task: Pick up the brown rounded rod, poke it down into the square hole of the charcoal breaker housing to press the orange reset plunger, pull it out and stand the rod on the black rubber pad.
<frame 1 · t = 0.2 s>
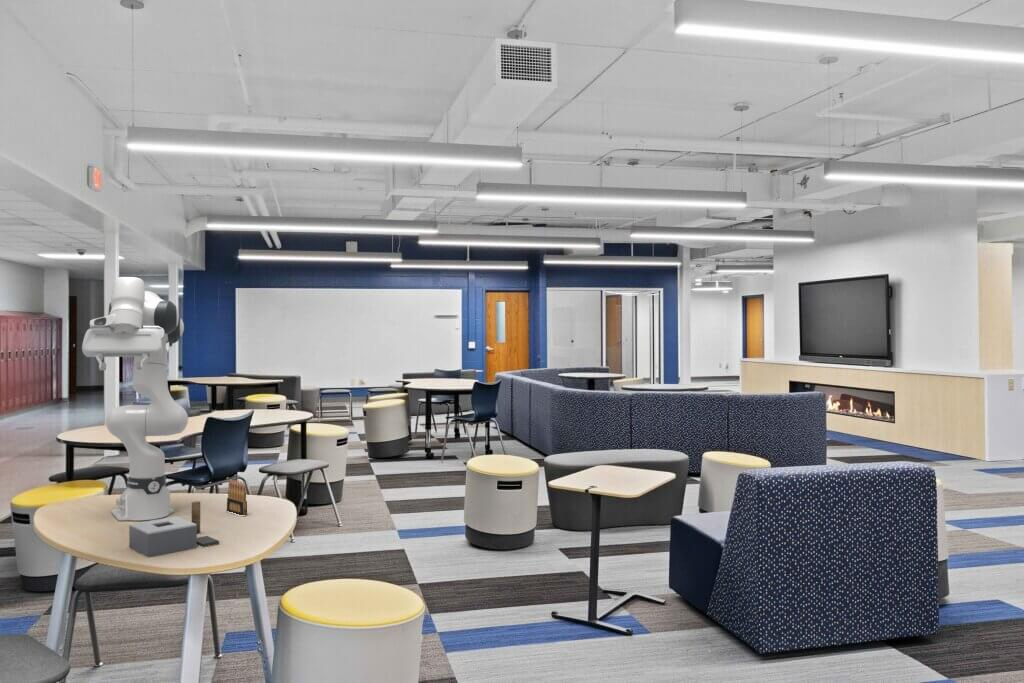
hand: (121, 369, 209), 54 cm above the table, tool tilted 30°, fingers open, 8 cm apart
brown rounded rod: (195, 533, 240), on the table
reset plunger: (163, 533, 224), point 4 cm above the table, slide at 0.0 cm
rubber pad: (205, 543, 229), on the table
ammunition clip: (236, 514, 267), on the table
breaker housing: (162, 547, 224), on the table
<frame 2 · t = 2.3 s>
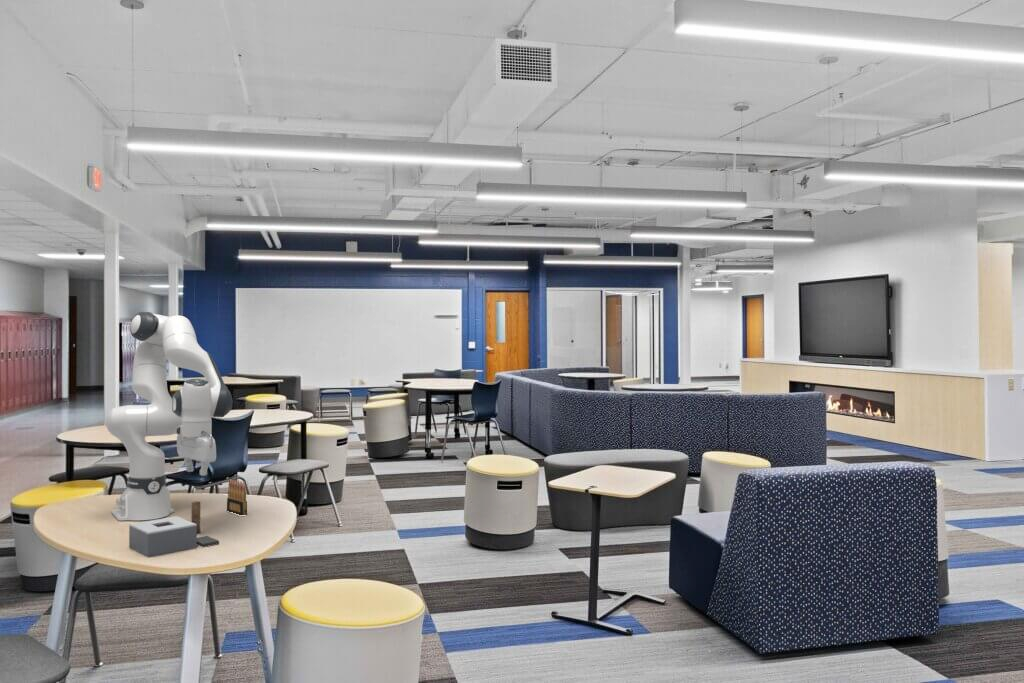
hand: (196, 473, 240), 19 cm above the table, tool pointing down, fingers open, 8 cm apart
nothing on the table moved.
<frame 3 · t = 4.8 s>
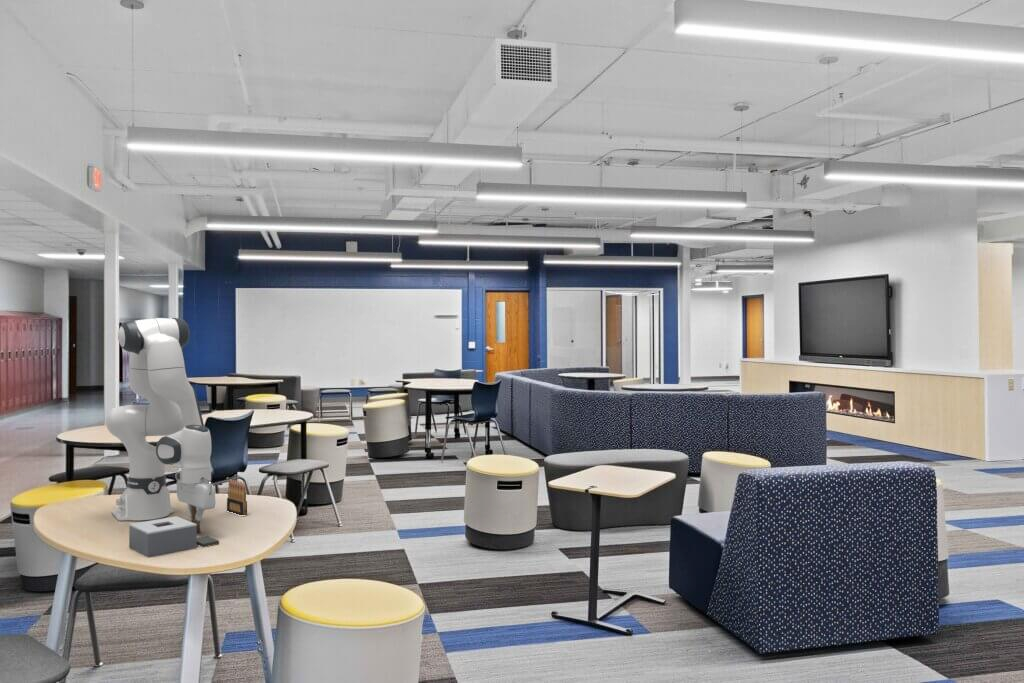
hand: (195, 519, 240), 5 cm above the table, tool pointing down, fingers closed on brown rounded rod, 3 cm apart
brown rounded rod: (195, 533, 240), on the table, touching gripper
everything else where it was.
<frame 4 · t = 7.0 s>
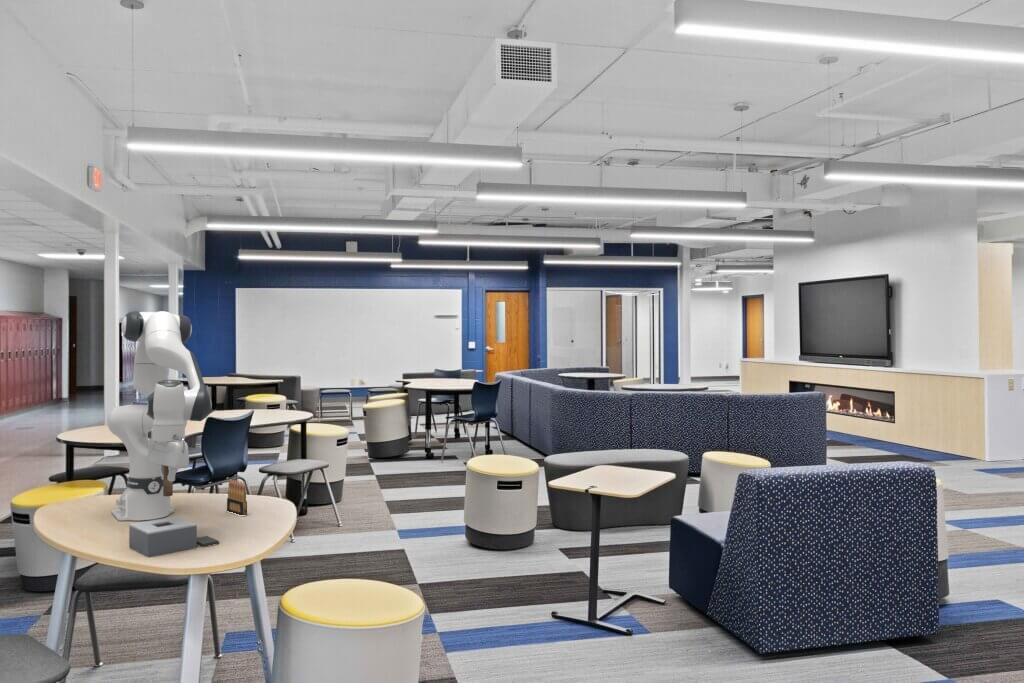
hand: (168, 480, 225), 20 cm above the table, tool pointing down, fingers closed on brown rounded rod, 3 cm apart
brown rounded rod: (167, 495, 225), point 15 cm above the table, touching gripper
everything else where it was.
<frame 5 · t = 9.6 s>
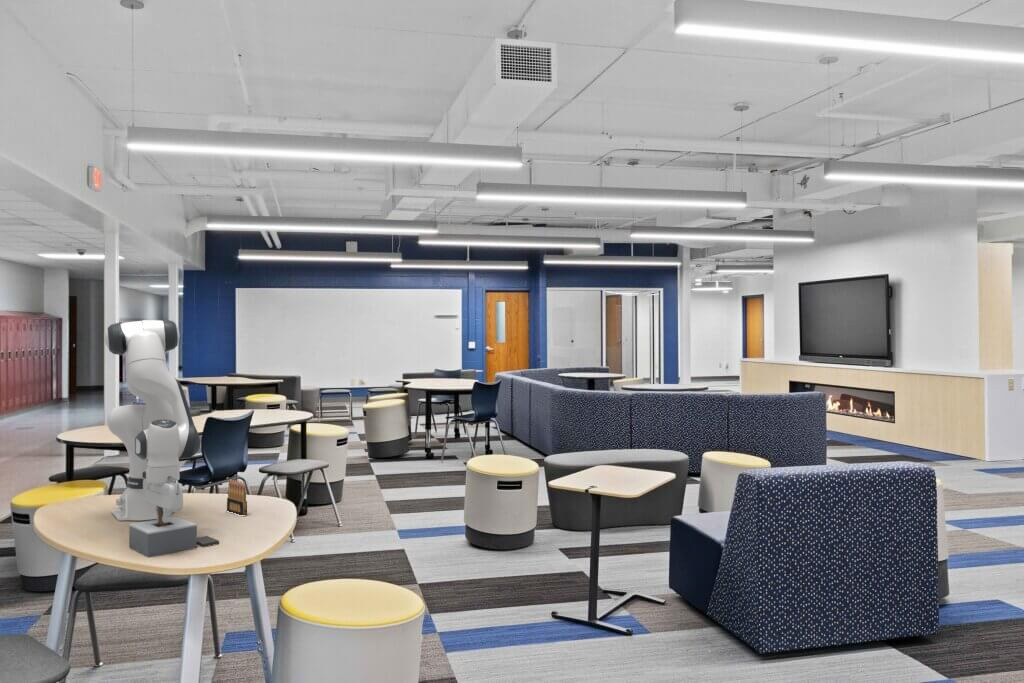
hand: (163, 521, 224), 8 cm above the table, tool pointing down, fingers closed on brown rounded rod, 3 cm apart
brown rounded rod: (162, 536, 224), point 3 cm above the table, touching gripper, reset plunger
reset plunger: (162, 540, 224), point 2 cm above the table, slide at 2.1 cm, touching brown rounded rod
everything else where it was.
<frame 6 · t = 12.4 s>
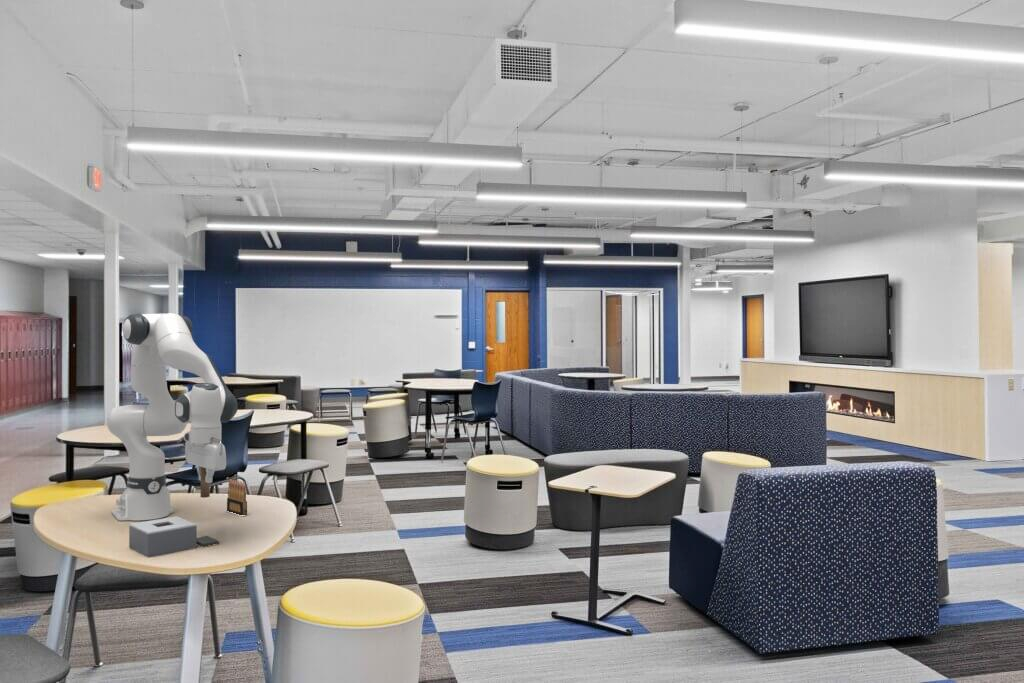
hand: (205, 481, 229), 19 cm above the table, tool pointing down, fingers closed on brown rounded rod, 3 cm apart
brown rounded rod: (205, 496, 229), point 14 cm above the table, touching gripper
reset plunger: (162, 540, 224), point 2 cm above the table, slide at 2.2 cm
everything else where it was.
when the fingers open (7 cm above the table, at t = 14.7 s): brown rounded rod drops 1 cm, resting on rubber pad.
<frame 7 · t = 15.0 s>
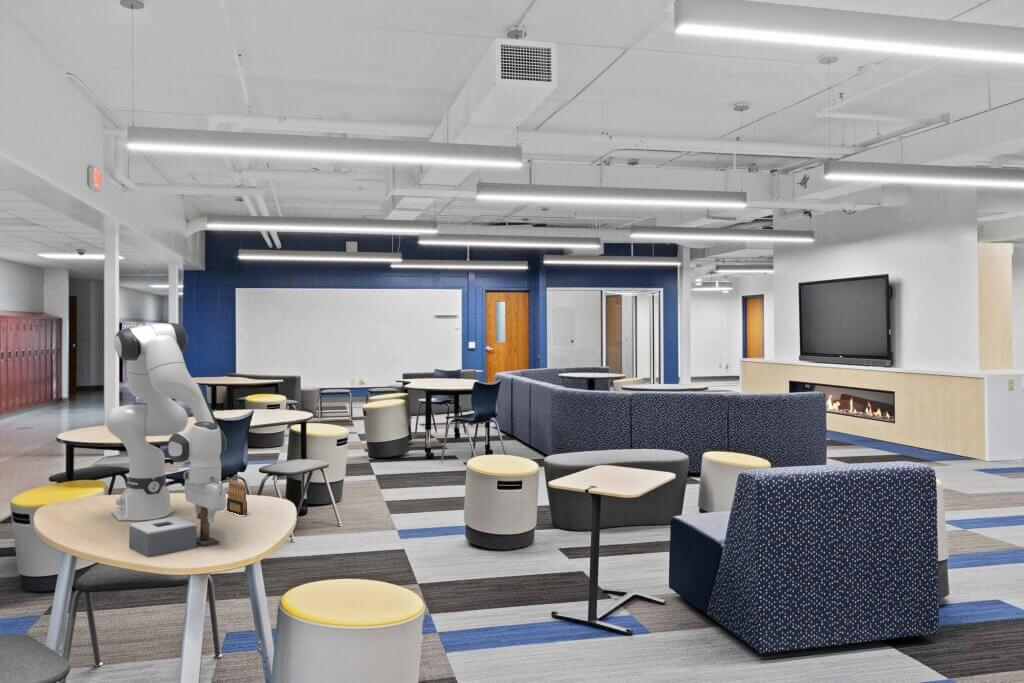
hand: (205, 520, 229), 7 cm above the table, tool pointing down, fingers open, 5 cm apart
brown rounded rod: (204, 539, 229), point 1 cm above the table, touching rubber pad
everything else where it was.
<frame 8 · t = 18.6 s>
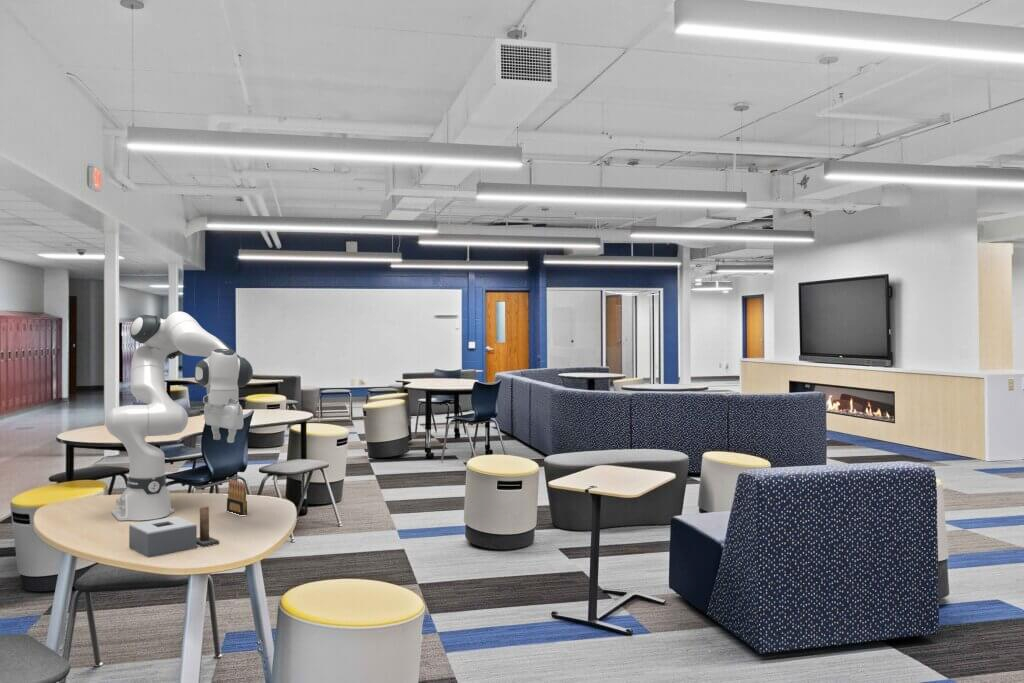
hand: (223, 441, 244), 29 cm above the table, tool pointing down, fingers open, 8 cm apart
nothing on the table moved.
at the end: reset plunger slide at 2.2 cm; brown rounded rod inside the target area (0.1 cm from its centre), point 1.0 cm above the table; brown rounded rod tilted 1° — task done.
